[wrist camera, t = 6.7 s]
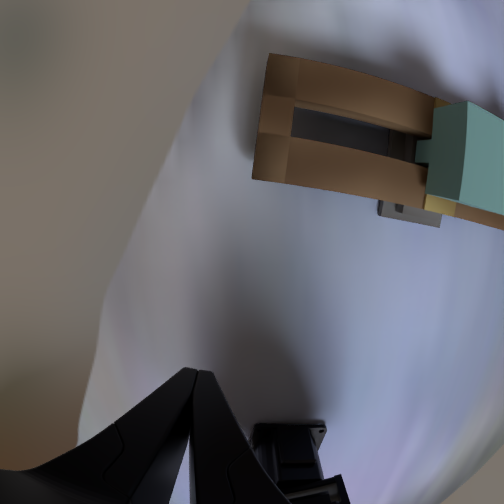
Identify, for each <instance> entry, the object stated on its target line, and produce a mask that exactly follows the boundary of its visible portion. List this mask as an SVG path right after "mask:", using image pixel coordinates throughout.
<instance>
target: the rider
mask: <svg viewBox="0 0 504 504" xmlns="http://www.w3.org/2000/svg"><path fill="white" fill-rule="evenodd" d="M415 163H418V164H421V165H425V166H428V167H429V168H428V175H427V183H426V189H425V194H429V195H432V196H436V197H440V198H443V199H447V200H451V201H454V202H458V203H461V204H464V205H468V206H471V207H475V208H479V209H482V210H486V211H490V212H494V213H497V214H501V215H504V120H502V119H500V118H498V117H497V116H495V115H493V114H491V113H490V112H488V111H486V110H484V109H482V108H481V107H479V106H477V105H475V104H473V103H471V102H469V101H464V102H460V103H455V104H451V105H446V106H442V107H438V108H434V113H433V128H432V139H430V140H419V141H417V145H416V155H415Z"/></svg>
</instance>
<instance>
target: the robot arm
mask: <svg viewBox="0 0 504 504" xmlns="http://www.w3.org/2000/svg"><path fill="white" fill-rule="evenodd" d="M321 429H322V430H321ZM326 432H327V428H326V426H325V425H283V424H256V425H254V428H253V432H252V437H251V442H250V445H249V443H248V441H247V439H246V437H245V435H244V433H243V432H242V430H241V428H240V426H239V424H238V422H237V420H236V418H235V416H234V414H233V412H232V410H231V408H230V406H229V404H228V402H227V400H226V398H225V396H224V394H223V392H222V390H221V388H220V386H219V384H218V382H217V380H216V378H215V375H214V373H213V372H211V371H206V370H199V371H198V370H197V369H193V368H187V367H184V368H182V369H181V370H180V371H179V372H177V373H176V374H175V375H174V376H172V377H171V378H170V379H169V380H167V381H166V382H165V383H164V384H162V385H161V386H160V387H159V388H157V389H156V390H155V391H154V392H152V393H151V394H150V395H149V396H147V397H146V398H145V399H144V400H142V401H141V402H140V403H138V404H137V405H136V406H135V407H133V408H132V409H131V410H129V411H128V412H127V413H125V414H124V415H123V416H122V417H120V418H119V419H118V420H116V421H115V422H114V424H113V423H112V424H111V425H109V426H108V427H107V428H105V429H104V430H103V431H101V432H100V433H98V434H97V435H95V436H94V437H93V438H91V439H89V440H88V441H86V442H84V443H83V444H81V445H79V446H77V447H76V448H74V449H72V450H70V451H68V452H66V453H64V454H62V455H60V456H58V457H56V458H54V459H52V460H50V461H49V462H46V463H44V464H42V465H40V466H38V467H35V468H32V469H28V470H22V471H13V470H3V469H0V504H169V501H170V498H171V495H172V491H173V488H174V485H175V482H176V479H177V475H178V472H179V469H180V466H181V463H182V459H183V456H184V453H185V450H186V447H187V443H188V440H189V481H190V504H350V501H349V498H348V494H347V491H346V488H345V485H344V482H343V479H342V476H341V474H339V475H335V476H334V477H332V478H328V479H324V476H323V472H322V468H321V463H320V459H319V455H318V450H319V447H320V445H321V443H322V441H323V438H324V436H325V434H326ZM189 435H190V438H189Z"/></svg>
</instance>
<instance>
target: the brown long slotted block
mask: <svg viewBox="0 0 504 504" xmlns="http://www.w3.org/2000/svg"><path fill="white" fill-rule="evenodd" d="M446 105H451V103H449V102H446V101H444V100H442V99H439V98H437V97H435V98H434V97H432V96H429V95H427V94H424V93H422V92H419V91H416V90H414V89H411V88H408V87H405V86H403V85H400V84H397V83H394V82H391V81H388V80H385V79H382V78H379V77H375V76H372V75H369V74H365V73H362V72H358V71H355V70H351V69H347V68H343V67H339V66H335V65H331V64H326V63H322V62H317V61H312V60H307V59H302V58H297V57H291V56H285V55H279V54H272V53H269V56H268V61H267V66H266V73H265V81H264V88H263V95H262V102H261V110H260V117H259V125H258V132H257V140H256V147H255V155H254V162H253V170H252V179H255V180H263V181H270V182H277V183H284V184H291V185H298V186H304V187H311V188H317V189H323V190H329V191H335V192H340V193H346V194H352V195H357V196H362V197H367V198H373V199H378V200H380V206H379V212H378V215H379V216H382V217H388V218H393V219H398V220H403V221H408V222H413V223H418V224H423V225H428V226H433V227H438V228H440V223H441V218H442V214H444V215H448V216H452V217H457V218H461V219H465V220H468V221H472V222H476V223H479V224H483V225H487V226H490V227H494V228H497V229H501V230H504V215H501V214H497V213H494V212H490V211H486V210H482V209H479V208H475V207H471V206H468V205H464V204H461V203H458V202H454V201H451V200H447V199H443V198H440V197H436V196H432V195H429V194H425V189H426V183H427V175H428V168H429V167H428V166H425V165H421V164H418V163H415V155H416V145H417V141H419V140H430V139H432V128H433V113H434V108H438V107H442V106H446ZM294 107H298V108H304V109H309V110H315V111H320V112H324V113H329V114H334V115H338V116H343V117H347V118H351V119H355V120H359V121H363V122H367V123H371V124H375V125H378V126H382V127H386V128H389V129H390V134H389V143H388V152H387V157H386V156H382V155H378V154H374V153H370V152H366V151H362V150H357V149H353V148H348V147H343V146H339V145H334V144H329V143H324V142H319V141H313V140H308V139H302V138H296V137H291V129H292V121H293V113H294Z"/></svg>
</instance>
